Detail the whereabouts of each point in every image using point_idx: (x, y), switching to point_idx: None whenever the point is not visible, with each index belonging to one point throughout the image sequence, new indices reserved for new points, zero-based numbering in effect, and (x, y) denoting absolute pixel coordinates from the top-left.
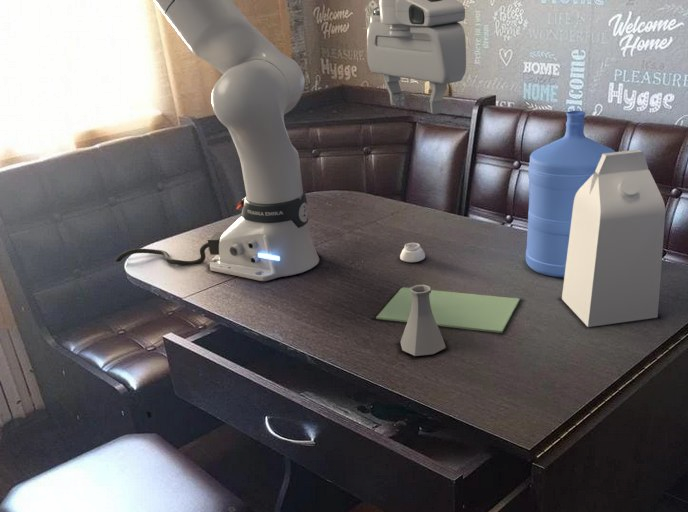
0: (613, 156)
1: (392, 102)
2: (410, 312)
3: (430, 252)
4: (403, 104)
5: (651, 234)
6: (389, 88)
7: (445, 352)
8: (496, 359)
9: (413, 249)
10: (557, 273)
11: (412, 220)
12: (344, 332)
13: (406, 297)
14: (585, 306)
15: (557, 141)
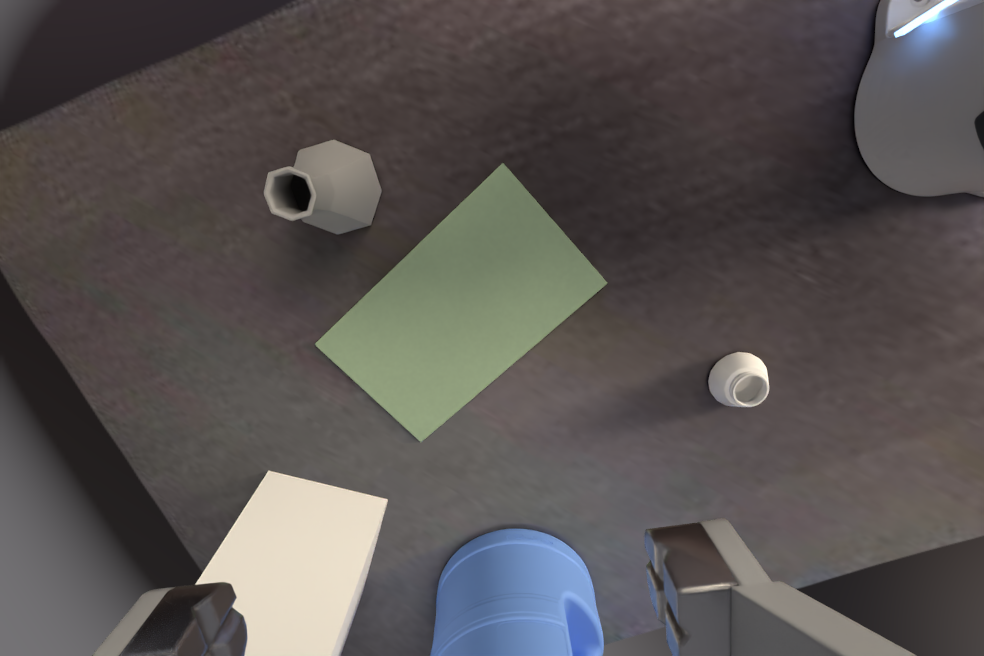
0: None
1: (701, 533)
2: (329, 171)
3: (740, 424)
4: (651, 586)
5: None
6: (790, 622)
7: None
8: (227, 280)
9: (732, 383)
10: (464, 546)
11: (937, 484)
12: (482, 68)
13: (553, 265)
14: (275, 494)
15: None
